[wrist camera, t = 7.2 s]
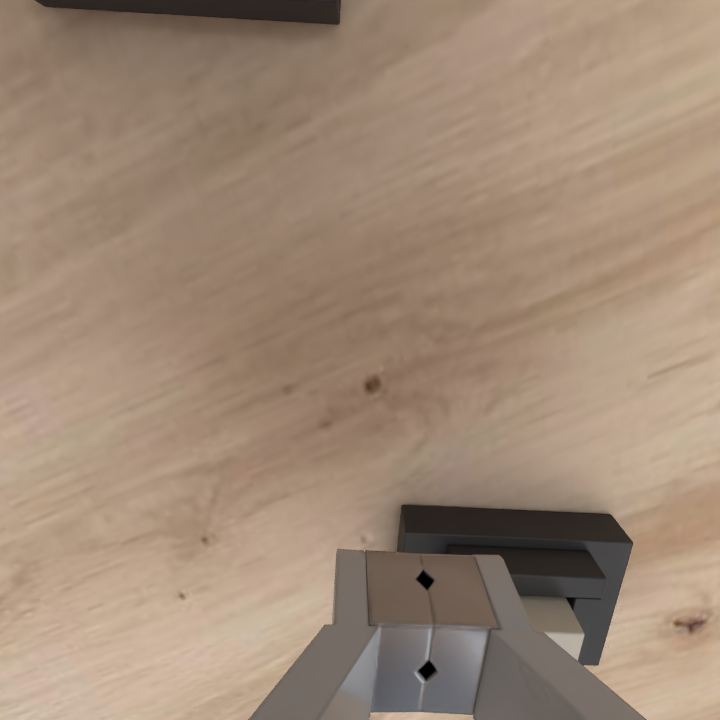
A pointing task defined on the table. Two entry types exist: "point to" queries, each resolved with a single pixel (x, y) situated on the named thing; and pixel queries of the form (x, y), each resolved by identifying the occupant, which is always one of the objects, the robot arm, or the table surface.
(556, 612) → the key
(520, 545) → the tiered dark block
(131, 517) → the table surface
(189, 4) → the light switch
